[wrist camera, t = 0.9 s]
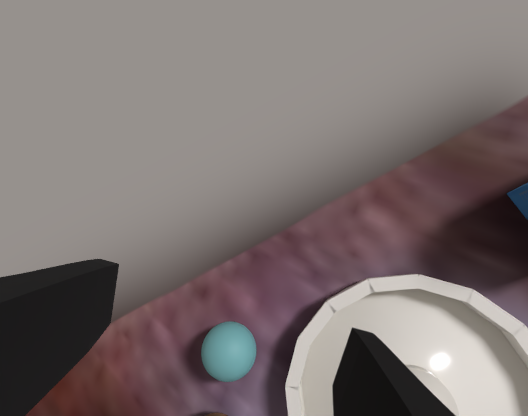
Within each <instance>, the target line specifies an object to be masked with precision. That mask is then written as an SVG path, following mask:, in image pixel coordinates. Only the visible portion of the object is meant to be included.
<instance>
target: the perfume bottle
mask: <svg viewBox="0 0 528 416" xmlns="http://www.w3.org/2000/svg"><path fill="white" fill-rule="evenodd" d="M506 194H507V195H508V196H509V197H510V199H511V200H512V201H513V202H514V204H515V205H516V206H517V208H518V209H519V210H520V211H521V213H522V214H523V215H524V216H525V218H526V219H527V220H528V183H526V184H524V185H522V186H520V187H518V188H516V189H514V190H512V191H510V192H508V193H506Z"/></svg>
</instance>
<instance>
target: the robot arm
mask: <svg viewBox="0 0 528 416" xmlns="http://www.w3.org/2000/svg"><path fill="white" fill-rule="evenodd" d="M118 267H119V264H117V263H113V262H109V261H106V260H102V259H94V260H86V261H81V262H76V263H70V264H65V265H61V266H56V267H51V268H46V269H41V270H36V271H32V272H27V273H23V274H17V275H11V276H6V277H1V278H0V416H25V415H26V414H27V413H28V412H29V411H30V410H31V409H32V408H33V407H34V406H35V405H36V404H37V403H38V402H39V401H40V400H41V399H42V398H43V397H44V396H45V395H46V394H47V393H48V392H49V391H50V390H51V389H52V388H53V387H54V386H55V385H56V384H57V383H58V382H59V381H60V380H61V379H62V378H63V377H64V376H65V375H66V374H67V373H68V372H69V371H70V370H71V369H72V368H73V367H74V366H75V365H76V364H77V363H78V362H79V361H80V360H81V359H82V358H83V357H84V356H85V355H86V353H87V352H88V351H89V350H90V349H91V348H92V346H93V345H94V344H95V343H96V341H97V340H98V339H99V338H100V336H101V335H102V334H103V332H104V331H105V330H106V328H107V327H108V326H109V324H110V323H111V316H112V309H113V302H114V295H115V288H116V281H117V274H118ZM332 392H333V415H334V416H456V415H455V414H454V413H452V412H451V411H450V410H449V409H448V408H447V407H446V406H445V405H444V404H443V403H442V402H441V401H440V400H439V399H438V398H437V397H436V396H435V395H434V394H433V393H432V392H431V391H430V390H429V389H428V388H427V387H426V386H425V385H424V384H423V383H422V382H421V381H420V380H419V379H418V378H417V377H416V376H415V375H414V374H413V373H412V372H411V371H410V370H409V369H408V368H407V367H406V366H405V364H404V363H403V362H402V361H401V360H400V359H399V358H398V357H397V356H396V355H395V354H394V353H393V352H392V351H391V350H390V349H389V348H388V347H387V346H386V345H385V344H384V343H383V342H382V341H381V340H380V339H379V338H378V337H377V336H376V335H375V334H373V333H371V332H368V331H364V330H360V329H357V328H353V327H352V329H351V332H350V335H349V338H348V341H347V344H346V346H345V349H344V352H343V355H342V358H341V361H340V364H339V367H338V370H337V373H336V376H335V379H334V382H333V385H332Z"/></svg>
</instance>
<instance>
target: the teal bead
mask: <svg viewBox="0 0 528 416" xmlns="http://www.w3.org/2000/svg"><path fill="white" fill-rule="evenodd" d="M201 356H202V362H203V365H204V367H205V369H206V371H207V372H208V373H209V374H210V375H211V376H212V377H214V378H215V379H217V380H219V381H223V382H232V381H236V380H238V379H240V378H242V377H243V376H245V375H246V374H247V373H248V372H249V371H250V369H251V368H252V366H253V364H254V361H255V357H256V343H255V340H254V337H253V335H252V333H251V332H250V331H249V330H248V329H247V328H246V327H245V326H244V325H242V324H240V323H237V322H223V323H220V324H218V325H216V326H215V327H213V328H212V329H211V330H210V331H209V332H208V334H207V335H206V337H205V339H204V341H203V344H202V349H201Z"/></svg>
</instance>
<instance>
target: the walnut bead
mask: <svg viewBox="0 0 528 416" xmlns="http://www.w3.org/2000/svg"><path fill="white" fill-rule="evenodd" d="M205 416H228V415H226V414H223V413H211V414H208V415H205Z"/></svg>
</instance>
